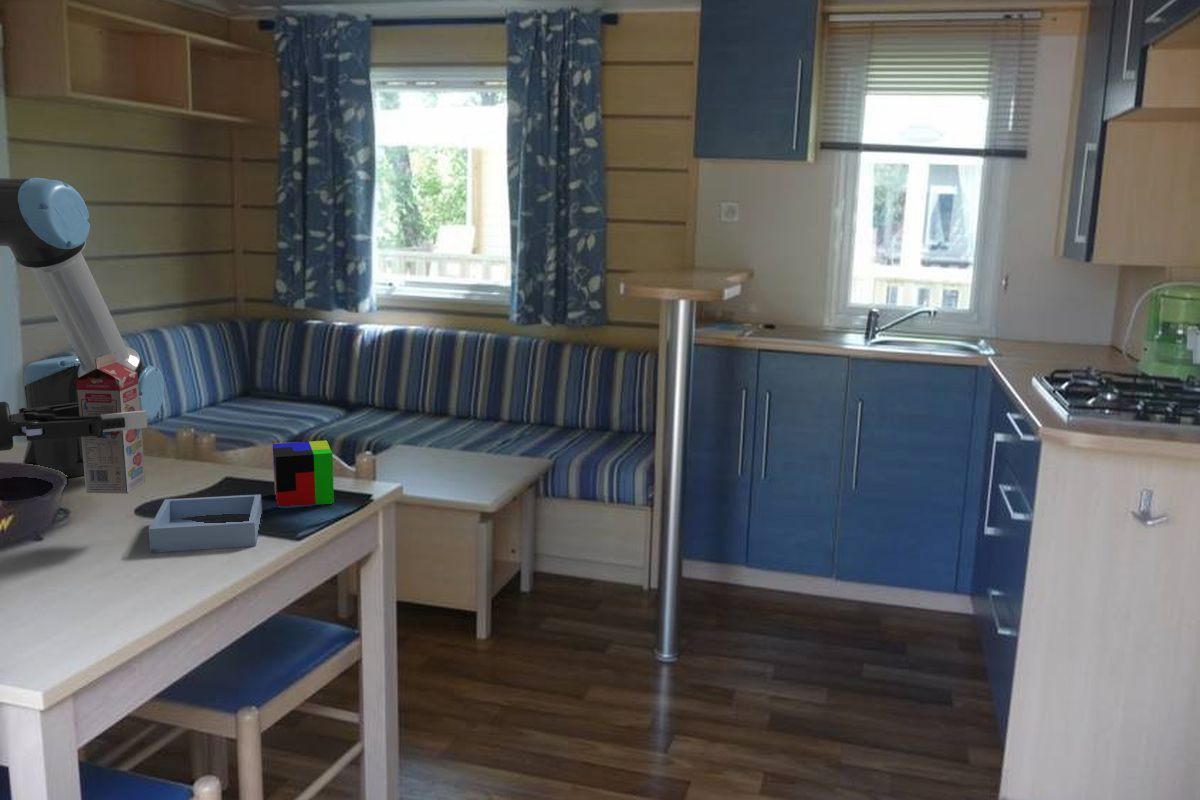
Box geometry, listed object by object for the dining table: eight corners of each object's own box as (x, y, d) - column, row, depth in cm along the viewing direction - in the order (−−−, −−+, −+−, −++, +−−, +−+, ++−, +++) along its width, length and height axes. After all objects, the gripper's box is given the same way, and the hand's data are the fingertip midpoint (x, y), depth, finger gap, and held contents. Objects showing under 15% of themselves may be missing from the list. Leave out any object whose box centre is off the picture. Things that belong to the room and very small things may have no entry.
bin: (166, 521, 175) (164, 499, 174) (262, 515, 179) (261, 494, 178) (150, 552, 159) (148, 529, 159) (255, 545, 163) (254, 522, 163)
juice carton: (86, 492, 160) (74, 358, 156) (105, 481, 167) (95, 351, 162) (127, 493, 160) (117, 359, 156) (145, 481, 167) (135, 352, 163)
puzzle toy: (274, 494, 192) (272, 443, 190) (328, 489, 195) (326, 440, 193) (278, 509, 183) (275, 456, 181) (334, 504, 186) (332, 453, 184)
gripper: (-20, 437, 161) (131, 422, 173) (-13, 468, 143) (155, 449, 156) (-25, 391, 159) (128, 380, 172) (-18, 418, 142) (152, 402, 154)
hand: (140, 413), depth 164 cm, fingers closed on juice carton, 9 cm apart
